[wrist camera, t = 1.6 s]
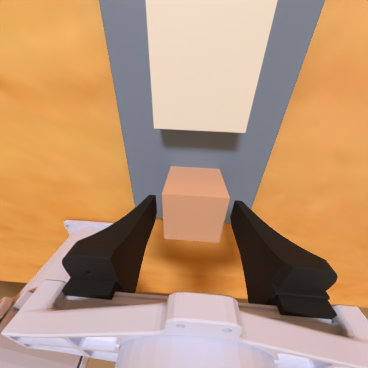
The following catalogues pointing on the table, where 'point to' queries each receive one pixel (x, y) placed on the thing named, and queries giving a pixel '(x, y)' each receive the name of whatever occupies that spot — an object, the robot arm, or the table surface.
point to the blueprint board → (203, 143)
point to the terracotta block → (194, 204)
